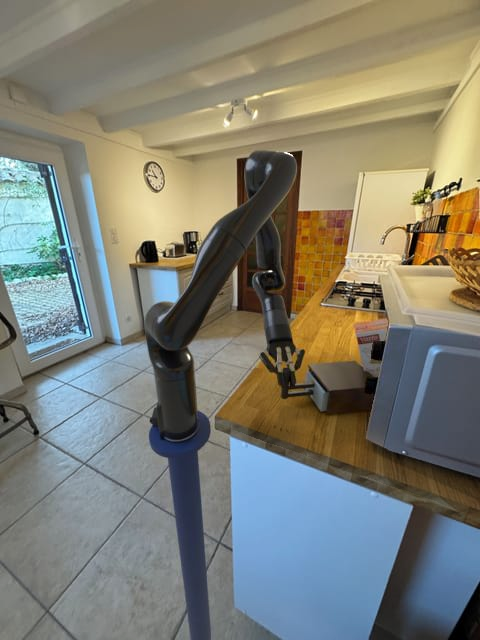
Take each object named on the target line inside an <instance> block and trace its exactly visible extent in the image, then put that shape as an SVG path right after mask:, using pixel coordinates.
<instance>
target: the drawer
mask: <svg viewBox="0 0 480 640" xmlns="http://www.w3.org/2000/svg"><path fill="white" fill-rule="evenodd" d="M282 373H283V375H284V380H285V387H284V388H281V387H280V389H281V391H280V398H281V399H282V400H287V399H289V398H296V397H306V396H310V398H311V399H312V401H313V402H314V404H315V406H316V407H317V409H318V410H319V411H320V412H326V410H327V403H328V396H329V392H328V391H327V390H326V389H325V387H324V386H323V385H322V384H321V382H320V381H319V380H318V379H317V377H316V376H315V375H314V374H313V372H312V371H309V369H308V370H305V381H303V382H296V384H295V386H294V387H290V383H289V379H290V369H289V368H287V367H282Z"/></svg>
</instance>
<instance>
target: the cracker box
mask: <svg viewBox="0 0 480 640" xmlns="http://www.w3.org/2000/svg"><path fill="white" fill-rule="evenodd" d="M387 318H388V317H385V318H380V319H374V320H369V321H361V322H357V323H353V328H354V333H355V337H356V342H357V346H358V352H359V357H360V361H361V366H362V367H363V370H364V371H368V372H369V373H370V374H372V375H373V376H374V377H378V374H379V370H380V366H381V361H377V360H373V359H371V350H372V344H373V341H374V340H380V341H384V340H385V338H386V333H387V326H388V320H387Z"/></svg>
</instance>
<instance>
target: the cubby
mask: <svg viewBox="0 0 480 640" xmlns="http://www.w3.org/2000/svg"><path fill="white" fill-rule="evenodd" d="M307 368H308V370H309V371H312V372H313V374H314V375H315V376H316V377H317V379H318V380H319V381H320V382H321V384H322V385H323V386H324V387H325V389H326V390H327V391H328V392H329V396H328V403H327V410H326V411H325V414H326V415H337V414H338V415H339V414H345V413H355V412H365V411H372V410H371V409H372V404H373V400H374V395H368V394H365V393H364V386H365V379H366V376H372V377H374V376H373V375H372V374H370V373H369V372H368V371H364V370H363V366H362V364H360V363H359V362H358V361H356V360H347V361H334V362H321V363H310V364H307Z"/></svg>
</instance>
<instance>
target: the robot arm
mask: <svg viewBox="0 0 480 640" xmlns="http://www.w3.org/2000/svg"><path fill="white" fill-rule="evenodd" d="M243 173H244V175H243V176H244V177H243V178H244V184H245V186H244V187H245V189H246V190H245V191H246V196H247V201H245V202H244V203H242V204H241V205H239V206H238V207H236V208H235V209H233V210H231V211H229V212H228V213H226V214H225V215H223V216H222V217H221V218H219V219H218V220H217V221H216V222H215V223H214V224H213V225H212V227H211V228H210V229H209V231H208V233H207V234H206V236H205V237H204V239H203V240H202V241H201V244H200V245H199V247H198V249H197V253H196V255H195V259H194V263H193V268H192V272H191V276H190V278H189V281H188V282H187V284H186V286H185V288H184V289H183V290H182V292H181V294H180V295H179V296H178V298H177V299H176V301H175V302H172V301H169V300H168V301H167V300H162V301H159V302H156V303H154V304H153V305H151V306H150V307H149V308H148V310H147V312H146V314H145V317H144V323H143V324H144V325H143V327H144V335H145V340H146V346H147V353H148V357H149V361H150V364H151V366H152V367H151V368H152V370H153V376H154V384H155V391H156V393H155V394H156V399H157V401H156V406H155V407H154V408H153V410H152V415H151V417H150V418H149V423H150V424H151V426H152V425H153V427H159V433H160V440H166V441H168V442H172V443H180V442H184V441H187V440H189V439H191V438H192V437H193V436H195V434H196V433H197V431H198V429H199V422H198V411H199V410H198V398H197V386H196V385H197V384H196V371H195V370H196V369H195V368H196V367H195V359H194V357H193V354H192V352H191V351H190V349H189V345H191V344H192V343H193V341H194V340H195V338H196V337H197V335H198V333H199V332H200V329H201V328H202V326H203V324H204V322H205V320H206V318H207V316H208V314H209V313H210V310H211V309H212V306H213V304H214V302H215V301H216V300H217V297H218V296H219V294H220V293H221V291H222V290H223V288H224V286H225V284H226V283H227V282H228V280H229V278H230V277H231V275H232V273H233V272H234V271H235V269H236V268H237V267H238V265H239V264H240V262H241V260H242V259H243V258H244V256H245V254H246V252H247V251H248V249H249V247H250V246H251V244H252V243H253V241H254V240H255V244H256V245H255V246H256V263H257V266H258V267H259V268H260V269H261V270H262V271H256V272H255V273H254V274H253V276H252V277H251V278H252V279H251V284H252V287H253V290H254V291H255V293H256V295H257V298H258V299H259V301H260V306H261V310H262V318H263V329H264V333H265V334H264V335H265V340H266V349H265V350H264V351H261V352H260V354H259V355H258V358H259V359H260V361H261V362H262V363H263V365H264V366H265V368H266V369H267V370H268V372H269V373H272V374H275V375H276V379H277V385H278V386H279V387H280V389H281V388H284V387H285V380H284V375H283V373H282V372H283V362H284V364H285V366H286V368H289V369H290V379H289V384H290V387H294V386H295V384H296V383H297V378H296V371H298V370H299V369H301V366H302V363H303V360H304V357H305V353H306V350H305V349H304V348H303V349H300V348H297V347H296V345H295V343H294V339H293V333H292V329H291V324H290V320H289V317H288V314H287V309H286V304H285V301H284V297H283V295H280V294H277V292H281V291H283V289H284V288H285V285H286V278H285V277H286V276H285V275H284V271H283V269H282V263H281V251H282V250H281V249H282V242H281V236H280V234H279V230H278V228H277V226H276V223H275V221H274V219H273V217H272V215H273V213H274V212H275V211H276V209H277V208H278V207H279V205H280V204H281V203H282V202H283V201H284V199H285V198H286V197H287V196H288V194H289V192H290V191H291V189H292V187H293V185H294V183H295V180H296V177H297V173H298V163H297V160H296V158H295V157H294V156H293V154H290V153H288V152H284V151H275V150H267V149H266V150H264V149H258V150H256V149H255V150H254V151H252V152H251V153H250V154H249V155H248V157H247V159H246V161H245V165H244V172H243ZM275 292H276V293H275ZM294 354H295V357H296V358H295V363H294V359H293V356H294ZM270 357H271V358H272V360H273V361H274V364H273V363H272V361H271V360H270ZM197 410H198V411H197Z"/></svg>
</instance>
